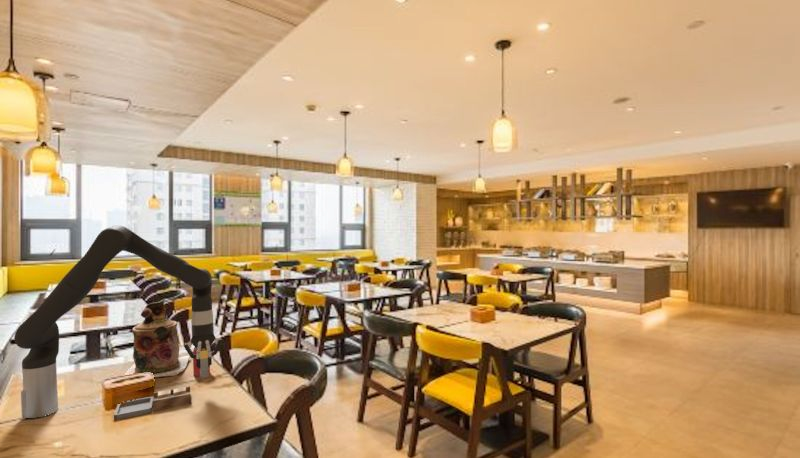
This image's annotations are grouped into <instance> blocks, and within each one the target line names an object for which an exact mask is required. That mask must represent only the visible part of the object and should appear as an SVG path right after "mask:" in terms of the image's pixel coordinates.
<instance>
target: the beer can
mask: <svg viewBox="0 0 800 458" xmlns="http://www.w3.org/2000/svg"><path fill="white" fill-rule="evenodd" d="M196 351H197V348H196V347H195V346H193V351H192V352H193V353H194V354H196ZM192 365H193V371H192V372H193V376H195V377H201V375H200V369H199V368H197V366H196V359H195V358H192ZM210 372H211V366H210V367H208V375H210Z"/></svg>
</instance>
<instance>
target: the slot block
mask: <svg viewBox="0 0 800 458" xmlns="http://www.w3.org/2000/svg"><path fill="white" fill-rule="evenodd" d="M182 387H183V386H180V387H179V388H182ZM184 387H186V394H182V395H177V396H174V393H173V392H174V389H177V388H178V387H176V388H169V389H164V390H163V389H162V391H166V390H171V397H166V398H160V399H158V392H160V391H161V390H159V391H154V392H153V398H154V400H153V407H152V412H155V411H159V410H164V409H169V408H176V407H179V406H180V407H181V406H185V405H191V404H192V401H191V400H192V398H191V385H186V386H184Z"/></svg>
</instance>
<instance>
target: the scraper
mask: <svg viewBox="0 0 800 458" xmlns="http://www.w3.org/2000/svg"><path fill="white" fill-rule="evenodd" d="M200 375H201V376H200V379H202V378H208V377H209V375H210V374H208V350H207V349H201V351H200Z"/></svg>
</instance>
